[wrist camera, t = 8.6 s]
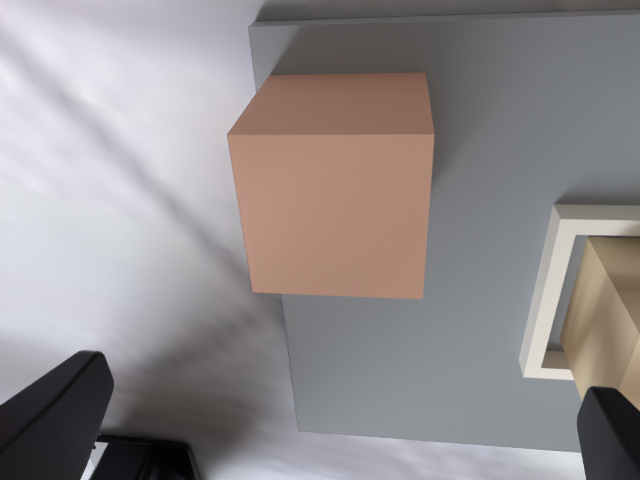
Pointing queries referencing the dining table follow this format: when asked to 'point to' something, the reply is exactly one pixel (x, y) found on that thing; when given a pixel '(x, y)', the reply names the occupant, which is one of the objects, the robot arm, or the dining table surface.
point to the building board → (475, 222)
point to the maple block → (605, 318)
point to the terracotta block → (336, 184)
